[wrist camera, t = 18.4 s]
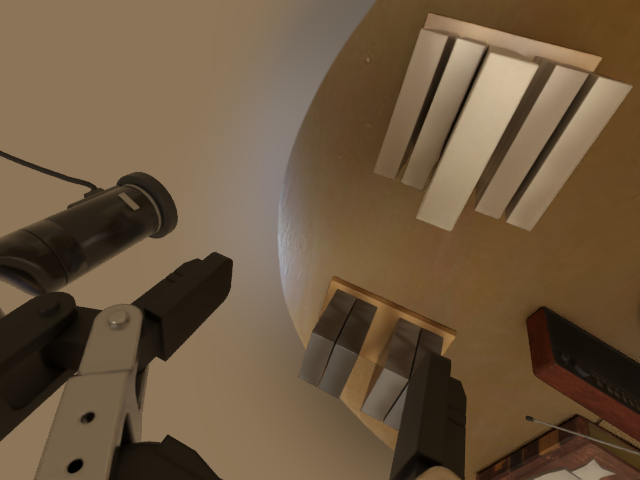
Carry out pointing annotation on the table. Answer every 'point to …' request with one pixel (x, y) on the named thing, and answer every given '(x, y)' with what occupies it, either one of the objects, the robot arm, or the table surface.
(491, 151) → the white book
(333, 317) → the paired blocks on board
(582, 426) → the book
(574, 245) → the table surface
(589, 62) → the upright slab rack
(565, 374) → the radio
